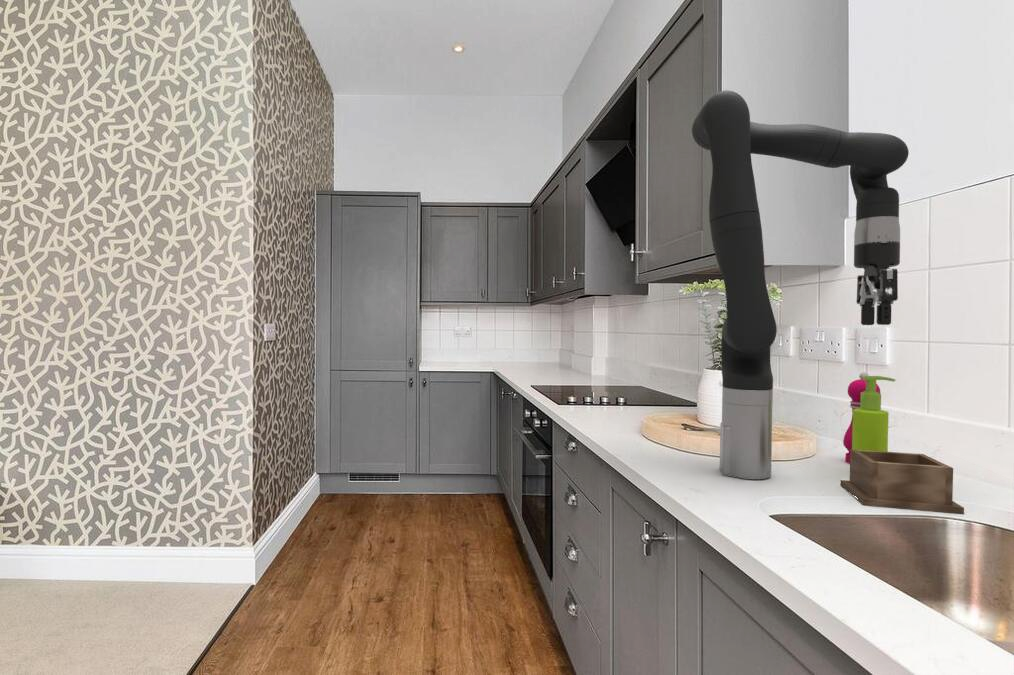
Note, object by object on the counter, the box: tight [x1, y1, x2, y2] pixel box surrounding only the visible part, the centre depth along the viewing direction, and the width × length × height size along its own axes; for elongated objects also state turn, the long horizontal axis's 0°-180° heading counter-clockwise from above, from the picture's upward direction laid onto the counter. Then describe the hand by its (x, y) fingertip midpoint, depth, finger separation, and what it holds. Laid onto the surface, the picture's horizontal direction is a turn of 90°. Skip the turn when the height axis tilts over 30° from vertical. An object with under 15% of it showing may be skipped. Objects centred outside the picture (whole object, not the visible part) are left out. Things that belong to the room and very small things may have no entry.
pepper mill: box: [842, 371, 881, 465], centre depth 119 cm, size 7×7×20 cm
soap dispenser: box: [852, 375, 896, 452], centre depth 108 cm, size 6×7×20 cm
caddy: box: [840, 449, 965, 515], centre depth 94 cm, size 14×12×7 cm
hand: (875, 324), depth 108 cm, fingers open, 8 cm apart
